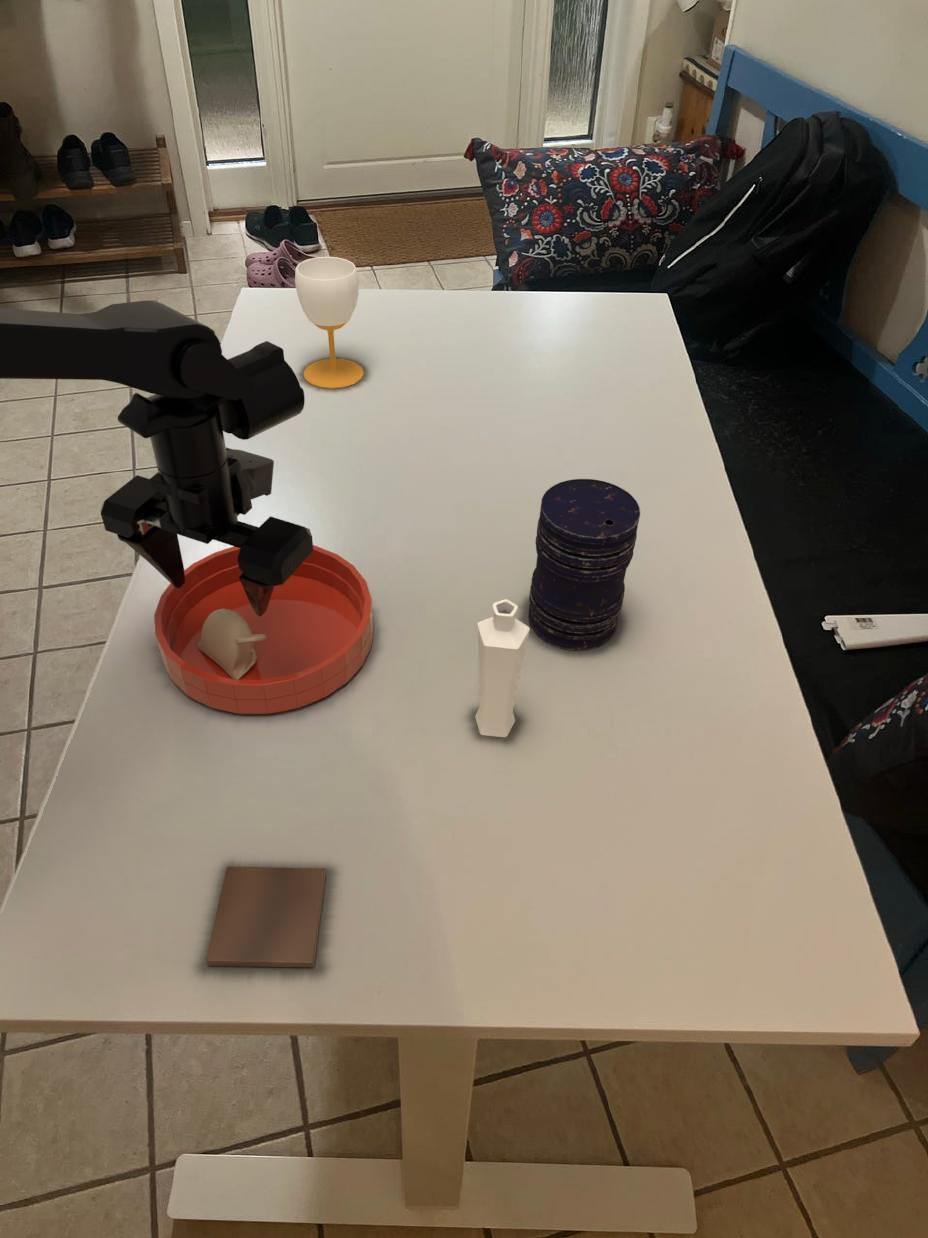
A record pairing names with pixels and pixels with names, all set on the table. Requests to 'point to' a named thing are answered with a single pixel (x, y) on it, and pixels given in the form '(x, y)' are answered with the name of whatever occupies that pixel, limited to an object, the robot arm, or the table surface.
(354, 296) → the cup
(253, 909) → the coaster
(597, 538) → the dark oil barrel
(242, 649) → the decorative ornament
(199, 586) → the bowl
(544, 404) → the table surface
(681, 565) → the table surface
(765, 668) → the table surface
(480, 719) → the perfume bottle
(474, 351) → the table surface
